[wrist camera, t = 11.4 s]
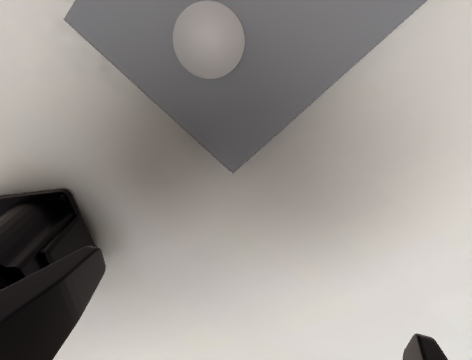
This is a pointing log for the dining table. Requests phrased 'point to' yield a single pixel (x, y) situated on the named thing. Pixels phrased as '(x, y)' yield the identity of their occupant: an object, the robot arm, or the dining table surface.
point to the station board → (235, 58)
